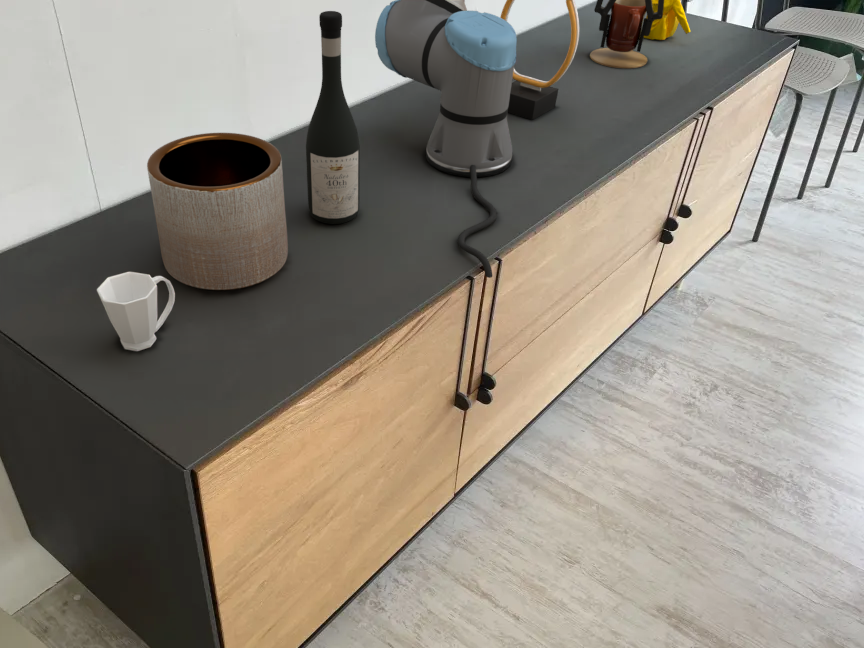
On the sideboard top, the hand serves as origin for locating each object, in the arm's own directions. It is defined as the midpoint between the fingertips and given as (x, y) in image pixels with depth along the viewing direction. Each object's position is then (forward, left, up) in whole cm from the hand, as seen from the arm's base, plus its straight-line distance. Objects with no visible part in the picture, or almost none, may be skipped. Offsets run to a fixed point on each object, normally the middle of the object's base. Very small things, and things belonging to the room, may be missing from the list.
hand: (620, 47), depth 180 cm
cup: (-128, +50, -3) cm, 137 cm away
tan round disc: (0, 0, -3) cm, 3 cm away
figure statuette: (+20, -8, -3) cm, 22 cm away
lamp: (-37, +16, -3) cm, 40 cm away
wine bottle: (-91, +38, -3) cm, 99 cm away
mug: (0, 0, -1) cm, 1 cm away
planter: (-109, +48, -3) cm, 119 cm away
